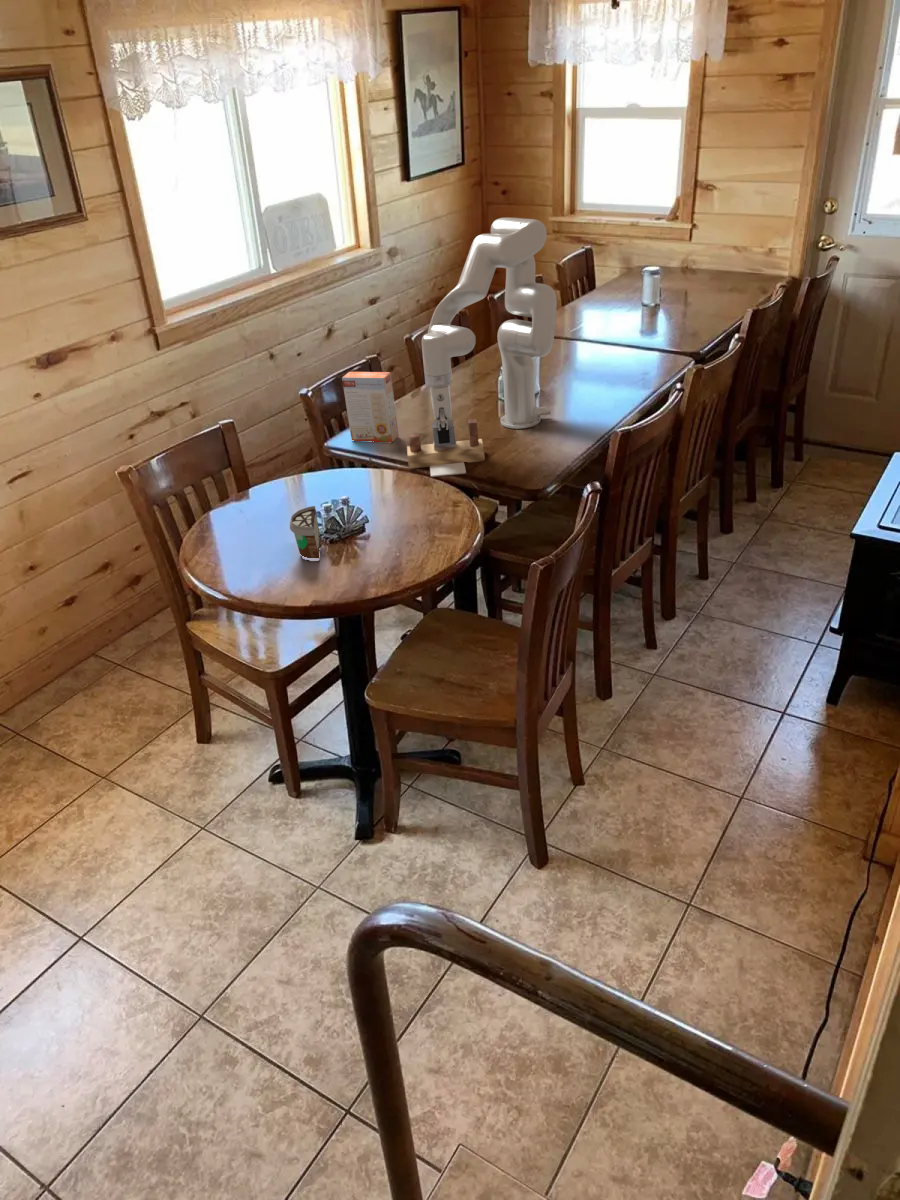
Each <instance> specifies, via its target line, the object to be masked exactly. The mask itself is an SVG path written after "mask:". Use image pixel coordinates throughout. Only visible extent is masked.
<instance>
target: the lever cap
mask: <svg viewBox="0 0 900 1200" xmlns="http://www.w3.org/2000/svg"><path fill="white" fill-rule="evenodd" d="M447 422H448V429H449V436H450V443H443V444H439V441H438V422H436V421H433V422H431V426H432V434H433V441H434V443H433V444H434V445H435V446H442V445H452V444H455V441H456V436H455V425H454V420H453V419H452V420H451V421H450V420H447ZM440 423H441V422H440ZM445 423H446V422H445Z"/></svg>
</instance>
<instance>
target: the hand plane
mask: <svg viewBox="0 0 900 1200" xmlns="http://www.w3.org/2000/svg"><path fill="white" fill-rule="evenodd" d="M467 427H468V438H469V439H467V440H465V439H464V440H457V441H456V440H455V444H452V445H442V446H435V445H434V440H433V443H426V444H422V441H421V435H420V434H419V433H411V434H410V435H408V443H409V446H408V445H407V446H406V452H407V455H406V456H407V462H408V469H417V468H418V469H420V468H428V467H429V468H430V466H433V465H443V464H452V463H462V462H468V463H475V462H476V463H477V462H485V459H486V458H485V448H484V447H485V446H484V443H483V439H482V438H479V431H478V429H479V428H478V420H477V419H476V418H472V419H468V420H467Z"/></svg>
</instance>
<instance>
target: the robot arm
mask: <svg viewBox="0 0 900 1200" xmlns="http://www.w3.org/2000/svg"><path fill="white" fill-rule="evenodd" d="M547 234H548V233H547V228H546V226H545V224H544V223H543V222H542V221H540V220H538V219H535V218H521V217H500V218H497V219H495V220H494V221H493V222H492V224H491V226H490V233H481V234H479V235H477V236H475V238H474V239H473V241H472V243H471V246H470V248H469V251H468V255H467V257H466V259H465V263H464V265H463V268H462V271H461V274H460V276H459V279H458V282H457V284H456V286H455V287H454V288H453V289H452V290H450V291H449V292H448V293H447V294H446V296H444V297H443V299H442V300H441V301H440V302H439V304H437V306H436V308H435V309H434V311H433V313H432V317H431V319H430V322H429V325H428V329H427V333H425V334H424V335H423V336H422V337H421V352H422V361H423V362H422V363H423V373H424V383H425V386H426V387H427V388H429V390H430V391H429V392H430V400H431V406H432V407H431V408H432V412H433V417H434V420H435V421H434V422H438V441H439V444H443V443H450V436H449V429H448V422H447V421H451V420H453V415H452V401H451V391H450V385H452V384H453V373H452V372H453V371H452V362H451V360H452V359H451V358H453V357H461V356H465V355H468V354H469V353H471V352H472V351H473V349H474V348H475V346H476V341H477V340H476V335H475V333H474V332H473V331H472V329H470V328H468V327H463V326H458V325H453V324H452V321H453V320H454V318H455V316H456V315H457V314H458V313H459V312H460V311H461V310H463V309H464V308H466V307H469V306H470V305H473V304H475V303H477V302H480V301H481V300H483V299H484V298H486V297H487V294H488V292H489V289H490V286H491V283H492V280H493V277H494V274H495V272H496V269H497V268H502V269H505V289H504V307H505V310H506V311H507V312H508V313H510V314H512V315H514V316H515V315H516V316H521V317H527V318H531V321H529V320H522V319H508V320H505V321H504V322H503V323H501V324H500V326H499V328H498V330H497V336H496V337H497V344H498V349H499V351H500V356H501V357H500V358H501V365H502V382H503V384H502V385H503V395H504V396H503V399H504V403H503V404H504V415H503V416H501V417H500V419H499V420H500V424H501V425H502V426H503V427H506V428H508V429H528V428H531V427H535V426H537V425H538V424H539V423H540V422H541V416H548V415H551V408H550V407H549V408H546V407H545V406H541V407H538V406H537V404H536V396H535V395H536V394H535V393H536V392H535V366H534V361H533V359H532V357H536V358H542V357H546V356H547V355H549V353H550V352H551V351H552V349H553V345H554V342H555V331H556V319H557V318H556V317H557V310H558V309H557V305H558V302H557V301H558V300H557V294H556V292H555V290H554V289H553V287H552V286H551V285H548V284H545V283H541V282H540V283H539V282H536V260H535V256H534V255H536V254H537V253H538V252H540V251H541V249H542V248H543V247H544V246H545V243H546V240H547ZM440 422H441V423H440ZM445 422H446V423H445Z"/></svg>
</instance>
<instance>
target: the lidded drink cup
mask: <svg viewBox="0 0 900 1200" xmlns="http://www.w3.org/2000/svg"><path fill="white" fill-rule="evenodd" d="M289 529H290V531H291V532H292V533H294V537H295V541H296V544H297V549H298V551H299V555H300V554H301V555H302V556H304V557H307V558H319V548H320V538H321V535H320V528H319V521H318V514H317V509H316V506H315V505H312V506H307V507H304V508H301V509H299V510H297V511H296V512H294V513H293V514H292V515H291V517H290V520H289ZM319 536H320V537H319Z"/></svg>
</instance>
